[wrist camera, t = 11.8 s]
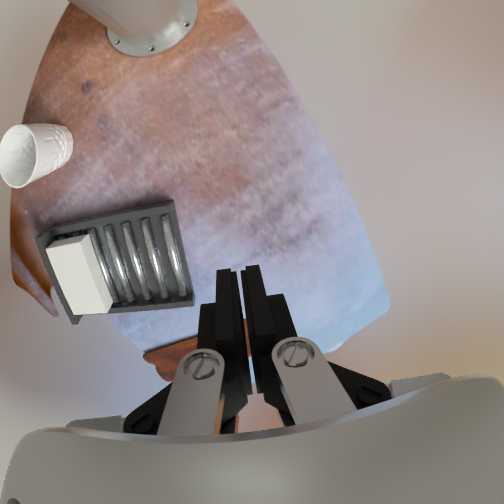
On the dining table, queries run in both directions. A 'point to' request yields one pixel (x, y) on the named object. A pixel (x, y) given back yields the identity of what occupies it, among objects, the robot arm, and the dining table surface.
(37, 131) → the white cup
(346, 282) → the dining table surface
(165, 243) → the roller track
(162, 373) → the wooden tablet
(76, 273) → the slab
